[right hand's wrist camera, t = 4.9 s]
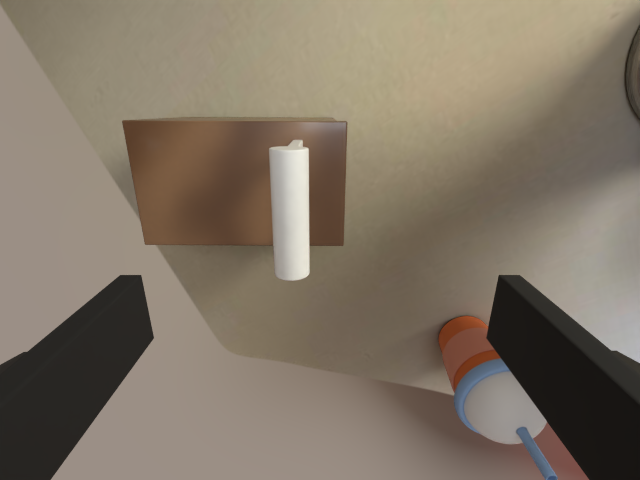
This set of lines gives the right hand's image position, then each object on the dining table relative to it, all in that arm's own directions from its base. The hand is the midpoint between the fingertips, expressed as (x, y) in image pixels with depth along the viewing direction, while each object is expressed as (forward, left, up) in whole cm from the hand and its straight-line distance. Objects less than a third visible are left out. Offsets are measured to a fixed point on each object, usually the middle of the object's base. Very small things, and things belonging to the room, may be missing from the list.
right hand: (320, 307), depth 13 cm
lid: (-1, -6, -15) cm, 16 cm away
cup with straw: (+17, +20, -26) cm, 37 cm away
